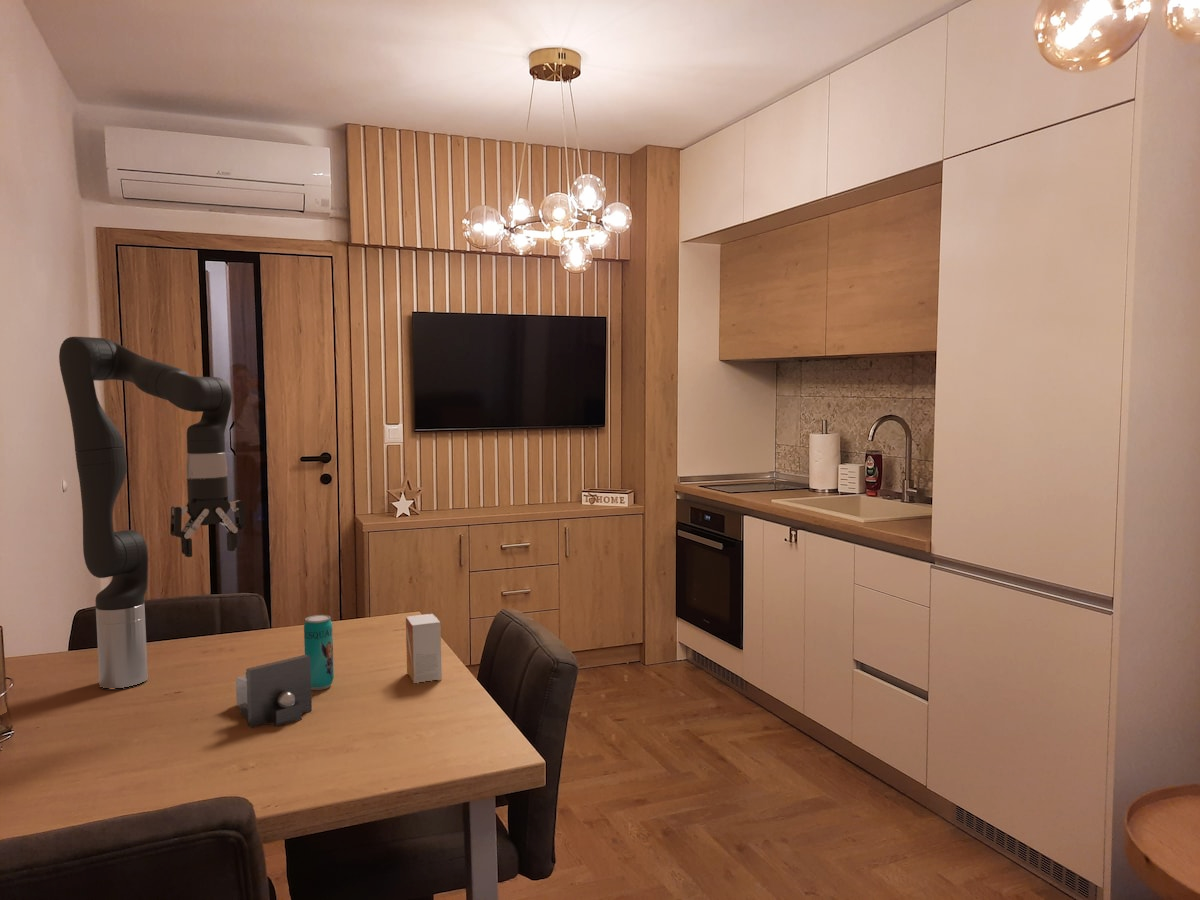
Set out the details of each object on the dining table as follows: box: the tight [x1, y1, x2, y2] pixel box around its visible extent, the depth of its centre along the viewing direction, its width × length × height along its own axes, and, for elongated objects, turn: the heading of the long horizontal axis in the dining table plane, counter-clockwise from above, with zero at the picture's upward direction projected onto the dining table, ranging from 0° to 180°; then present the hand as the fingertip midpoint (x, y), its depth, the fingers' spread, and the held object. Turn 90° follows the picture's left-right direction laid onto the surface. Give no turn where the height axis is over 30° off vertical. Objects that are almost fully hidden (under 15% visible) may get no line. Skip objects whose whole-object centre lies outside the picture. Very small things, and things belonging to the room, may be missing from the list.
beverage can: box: [303, 614, 335, 691], centre depth 181 cm, size 6×6×15 cm
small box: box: [405, 613, 443, 684], centre depth 187 cm, size 8×6×13 cm
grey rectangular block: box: [235, 674, 247, 708], centre depth 169 cm, size 13×4×6 cm, turn 52°
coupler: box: [239, 654, 313, 729], centre depth 165 cm, size 12×12×11 cm
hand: (210, 553), depth 174 cm, fingers open, 8 cm apart
